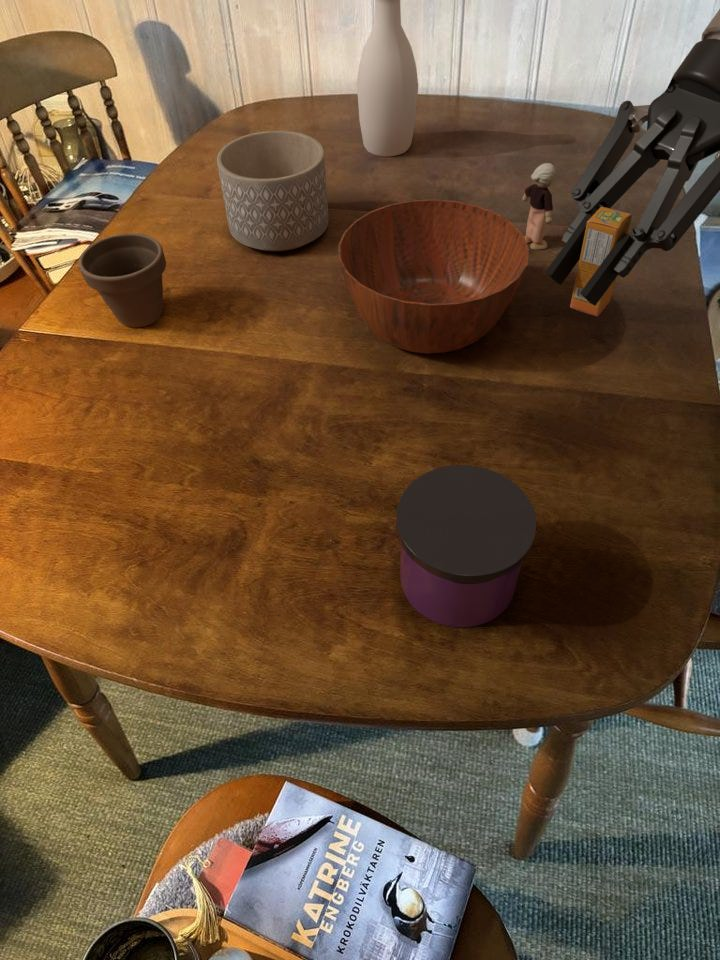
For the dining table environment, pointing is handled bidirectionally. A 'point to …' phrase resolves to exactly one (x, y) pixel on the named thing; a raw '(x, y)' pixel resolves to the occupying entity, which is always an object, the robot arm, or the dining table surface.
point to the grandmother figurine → (539, 205)
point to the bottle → (387, 84)
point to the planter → (274, 189)
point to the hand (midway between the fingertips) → (570, 288)
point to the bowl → (432, 272)
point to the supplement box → (598, 254)
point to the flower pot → (127, 276)
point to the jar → (463, 543)
